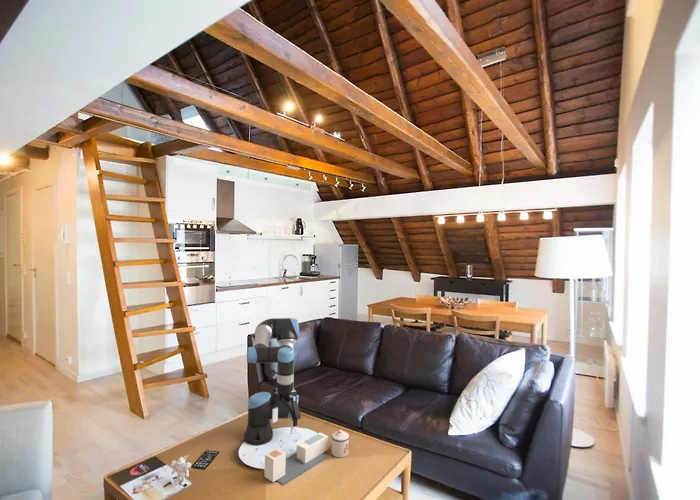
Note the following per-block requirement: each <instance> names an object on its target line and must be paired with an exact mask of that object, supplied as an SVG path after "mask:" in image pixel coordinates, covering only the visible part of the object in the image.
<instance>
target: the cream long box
mask: <svg viewBox="0 0 700 500" xmlns="http://www.w3.org/2000/svg"><path fill="white" fill-rule="evenodd" d="M328 450H329V435H326V434H325V433H323V432H317V433H316V434H314V435H312V436H310V437H309V438H306V439H304V440H303V441H300V442H299V443H297V444H296V452H297V458H295V460H297V461H298V460H299V462H300V463H302V464H304V463H307V462H308V461H310V460H312V459H313V458H315V457H317V456H318V455H320V454H322V453H323V454H324V453H325V452H327V451H328Z"/></svg>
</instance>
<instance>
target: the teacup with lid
mask: <svg viewBox="0 0 700 500" xmlns="http://www.w3.org/2000/svg"><path fill="white" fill-rule="evenodd" d="M349 441H350V434H349V433H348V432H347V431H344V430H342V429H339V430H336V431H334V432H333V433H332V434H331V455H332V456H334V457H336V458H345V457H347V456H348V455H349V447H350V446H349V444H350V442H349Z"/></svg>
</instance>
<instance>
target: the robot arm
mask: <svg viewBox="0 0 700 500" xmlns="http://www.w3.org/2000/svg"><path fill="white" fill-rule="evenodd" d="M299 327H300V325H299V321H298V319H297V318H293V317H292V318H290V317H288V318H287V317H283V318H276V317H275V318H268V319H265V320H263V321H261V322H260V323H258V325H257V326H256V327H255V329H254V336H255V337H254V340H253V341H254V342H253V345H252V346H249V347H248V348H247V349H246V363H249V364H266V363H267V364H269V363H270V364H274V363H276V367H277V368H276V369H277V370H276V371H277V372H276V388H273V390H272V391H273V392H272V395H271V393H270V392H268V391H260V392H256V393H254V394H253V395H251V396H249V397H248V403H247V409H248V410H247V426H246V429H245V431H244V433H243V441H244V442H245V443H246V444H248V445H251V446H261V445H262V446H263V445H265V444H267V443H269V442H270V441H272V440H273V437H274V431H273V428H272V425H271V423H272V424H274V423H276V422H278V421H279V420H280V419H281V420H283V419H285V420H286V419H290V434H292V435H293V434H295V433H297V428H298V427H297V426H298V420H300V419H301V418H302V415H301V411H300V409H299V397H300V395H299V394H297V391H296V389H295V388H294V383H295V382H294V381H295V379H294V377H295V373H294V372H295V344H296V343H297V342H298V340H299V339H300V335H301V334H300V328H299ZM271 339H275V340H276V343H277V344H278V346H269V345H270V340H271ZM278 419H279V420H278Z"/></svg>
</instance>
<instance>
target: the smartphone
mask: <svg viewBox="0 0 700 500" xmlns="http://www.w3.org/2000/svg"><path fill="white" fill-rule="evenodd" d="M219 454H220V451H217V450H209V449H208V450H205V451H204V452H203V453H202V454H201V455H200V456H199V457H198V458H197V460H195V461H194V463H193V464H191V466H190V467H191V468H190V469H194V470H202V471H203V470H206V469H207V468H208V467H209V466H210V465H211V463H212V462H213V461H214V460H215V458H216V457H217V456H218V455H219Z"/></svg>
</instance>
